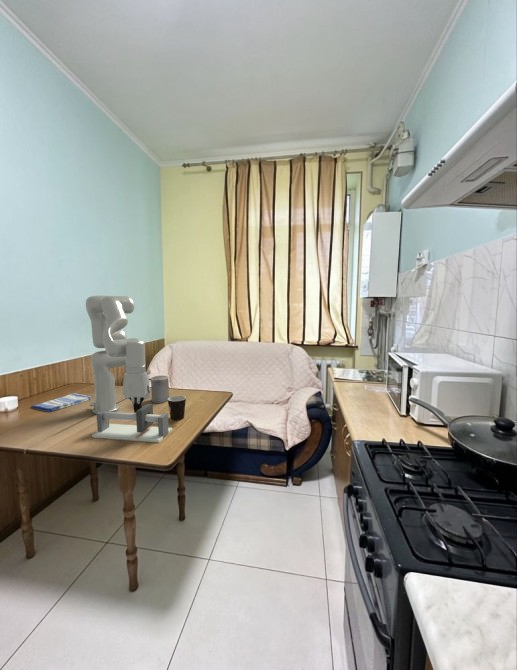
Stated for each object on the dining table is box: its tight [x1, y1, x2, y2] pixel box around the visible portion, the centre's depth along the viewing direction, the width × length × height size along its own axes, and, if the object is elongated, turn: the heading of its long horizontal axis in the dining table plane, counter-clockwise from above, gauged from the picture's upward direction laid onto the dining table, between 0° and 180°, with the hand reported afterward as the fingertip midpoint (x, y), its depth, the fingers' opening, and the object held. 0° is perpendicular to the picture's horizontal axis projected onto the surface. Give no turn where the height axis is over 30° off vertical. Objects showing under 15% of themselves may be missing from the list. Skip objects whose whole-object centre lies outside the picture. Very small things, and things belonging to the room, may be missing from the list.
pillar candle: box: [150, 375, 170, 404], centre depth 170 cm, size 10×10×15 cm
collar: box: [136, 403, 154, 432], centre depth 125 cm, size 2×9×9 cm, turn 172°
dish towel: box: [30, 392, 92, 413], centre depth 165 cm, size 17×24×3 cm
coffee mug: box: [167, 395, 187, 422], centre depth 142 cm, size 12×9×10 cm
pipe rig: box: [91, 410, 173, 443], centre depth 126 cm, size 30×12×9 cm, turn 82°
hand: (137, 411), depth 125 cm, fingers closed
